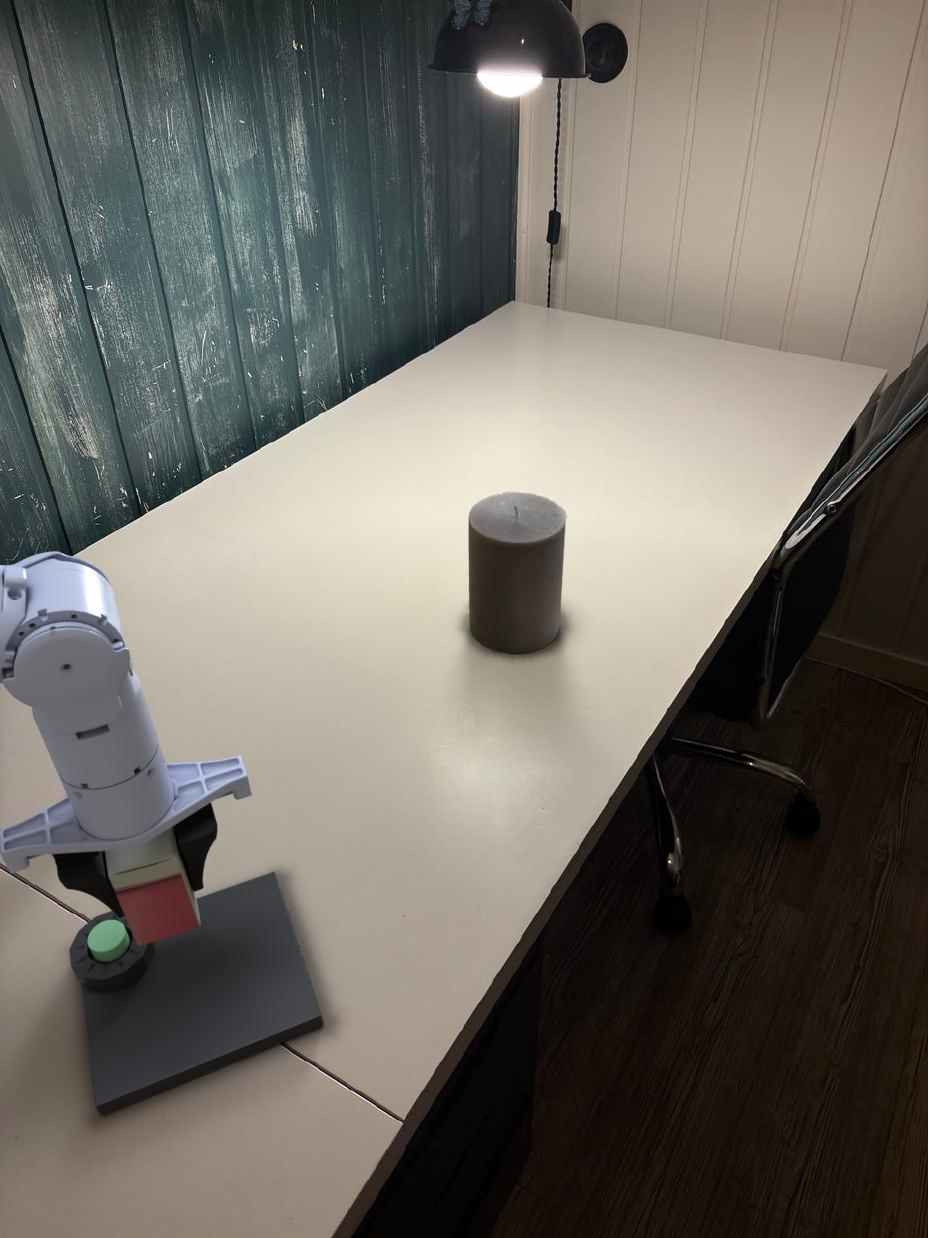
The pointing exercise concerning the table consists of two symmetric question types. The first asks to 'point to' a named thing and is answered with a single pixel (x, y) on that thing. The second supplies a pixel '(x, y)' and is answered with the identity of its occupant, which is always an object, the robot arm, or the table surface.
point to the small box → (154, 888)
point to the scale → (194, 994)
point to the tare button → (108, 941)
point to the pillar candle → (515, 571)
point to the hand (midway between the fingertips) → (160, 891)
